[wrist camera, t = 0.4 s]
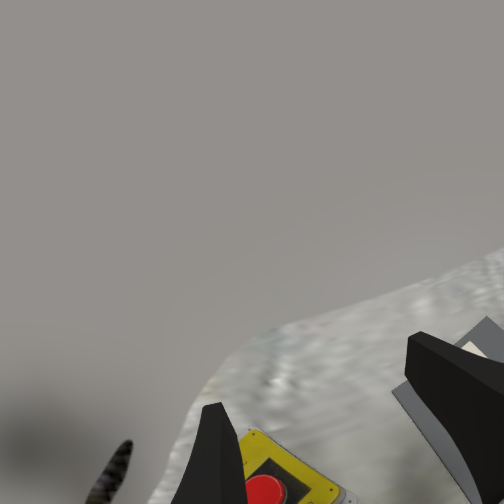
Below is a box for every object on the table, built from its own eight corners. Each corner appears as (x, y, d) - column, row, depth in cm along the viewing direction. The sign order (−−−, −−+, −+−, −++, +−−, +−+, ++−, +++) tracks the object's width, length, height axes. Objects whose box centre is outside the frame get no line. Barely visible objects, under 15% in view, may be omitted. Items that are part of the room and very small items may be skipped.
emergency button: (274, 574, 13) (171, 467, 24) (291, 570, 15) (194, 479, 26) (358, 494, 17) (236, 408, 28) (363, 500, 19) (253, 424, 30)
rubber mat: (593, 425, 9) (595, 423, 9) (493, 537, 9) (495, 537, 9) (486, 317, 27) (486, 314, 26) (391, 392, 26) (391, 390, 26)
